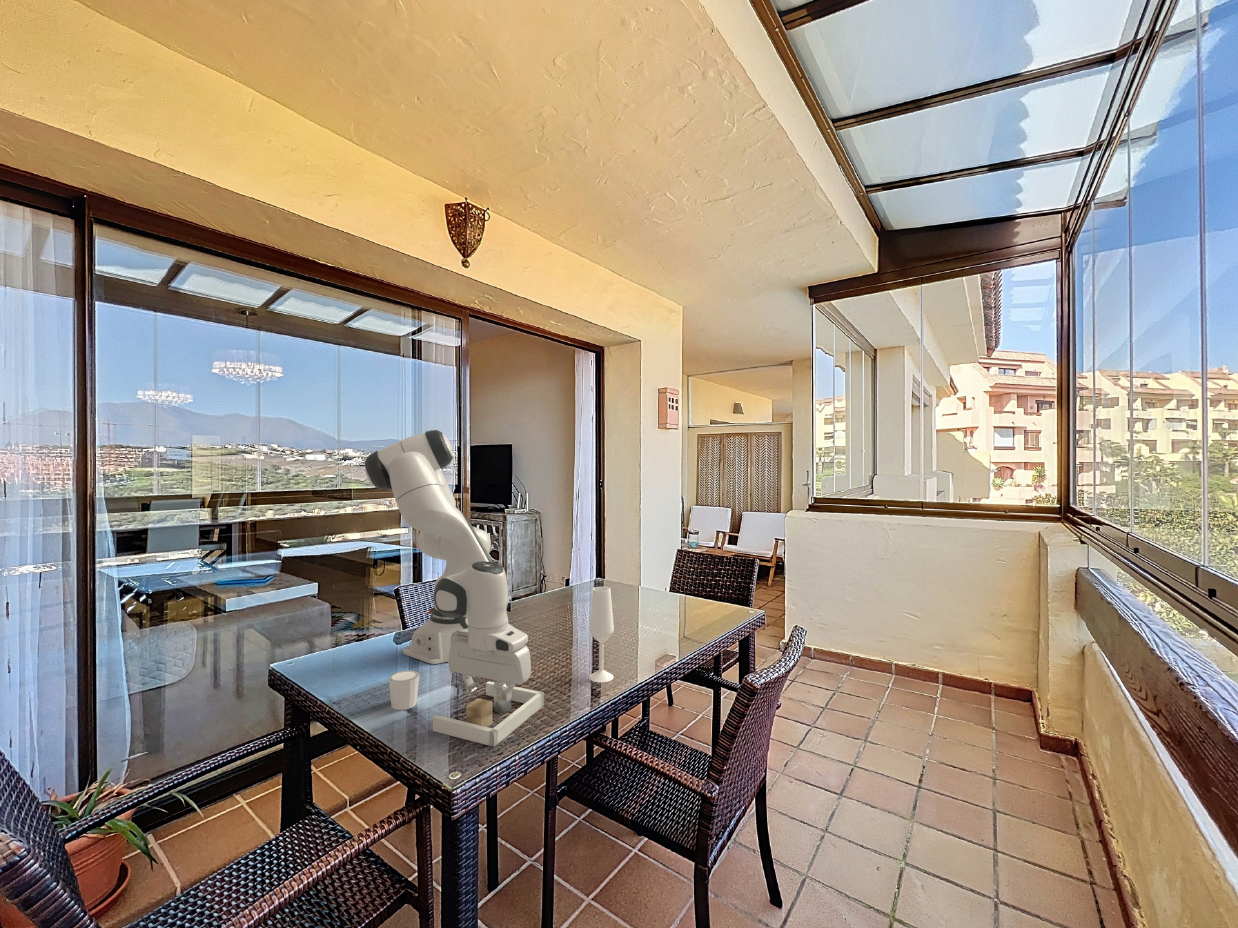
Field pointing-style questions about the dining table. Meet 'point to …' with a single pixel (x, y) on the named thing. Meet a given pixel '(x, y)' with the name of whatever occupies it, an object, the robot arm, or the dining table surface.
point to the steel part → (500, 698)
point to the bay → (503, 729)
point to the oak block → (479, 712)
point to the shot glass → (404, 689)
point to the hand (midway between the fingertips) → (489, 695)
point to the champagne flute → (601, 627)
